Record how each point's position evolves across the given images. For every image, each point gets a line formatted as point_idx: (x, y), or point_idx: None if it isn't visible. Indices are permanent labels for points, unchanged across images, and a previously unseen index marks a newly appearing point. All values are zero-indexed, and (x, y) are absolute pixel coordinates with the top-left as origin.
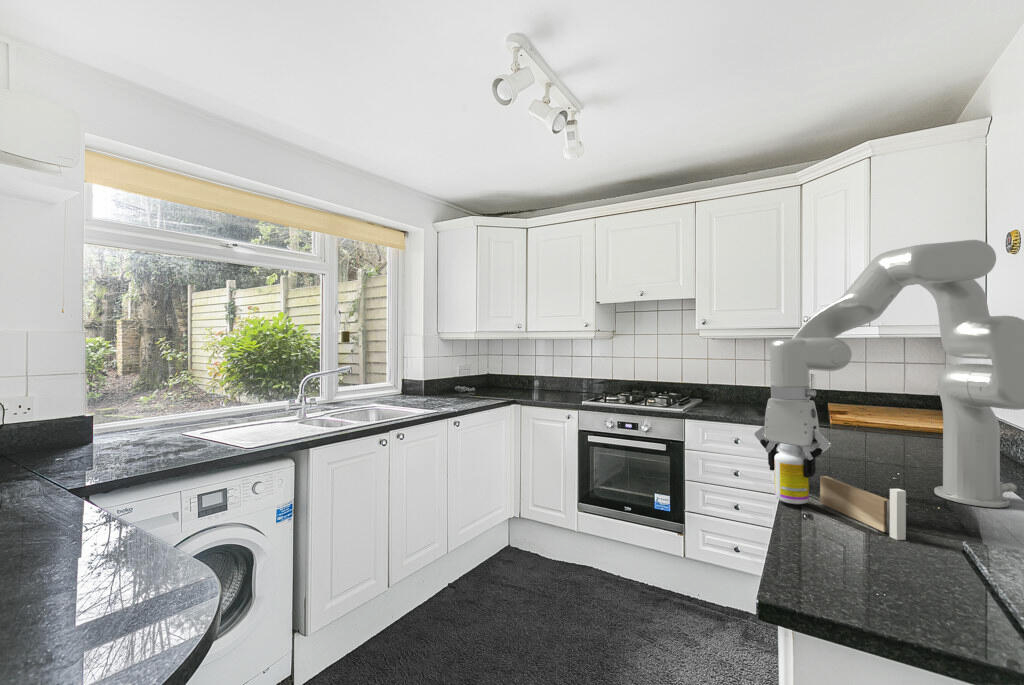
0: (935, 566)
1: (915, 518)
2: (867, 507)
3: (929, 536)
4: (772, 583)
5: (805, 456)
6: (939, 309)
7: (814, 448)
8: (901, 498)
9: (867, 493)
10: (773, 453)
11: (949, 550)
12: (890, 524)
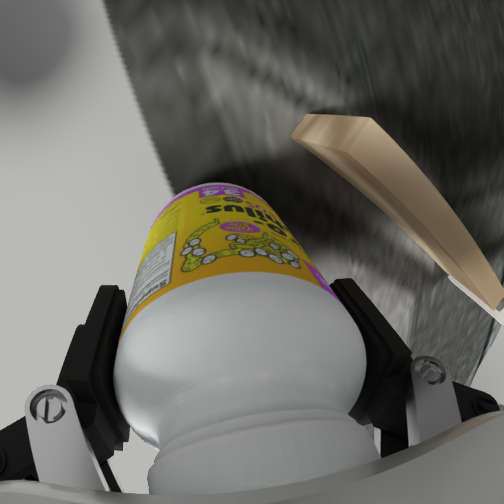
0: (466, 335)
1: (481, 85)
2: (454, 272)
3: (493, 207)
4: None
5: (360, 378)
6: None
7: (459, 413)
8: None
9: (482, 282)
10: (114, 432)
11: (498, 257)
12: (465, 291)
